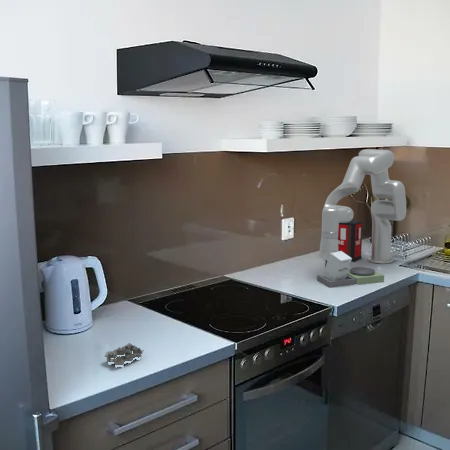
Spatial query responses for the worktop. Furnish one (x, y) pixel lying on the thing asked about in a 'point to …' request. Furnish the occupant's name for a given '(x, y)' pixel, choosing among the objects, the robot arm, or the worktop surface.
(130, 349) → the grey lumpy cluster
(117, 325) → the worktop surface
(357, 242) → the cleaning product box
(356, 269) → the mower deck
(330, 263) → the supplement box
